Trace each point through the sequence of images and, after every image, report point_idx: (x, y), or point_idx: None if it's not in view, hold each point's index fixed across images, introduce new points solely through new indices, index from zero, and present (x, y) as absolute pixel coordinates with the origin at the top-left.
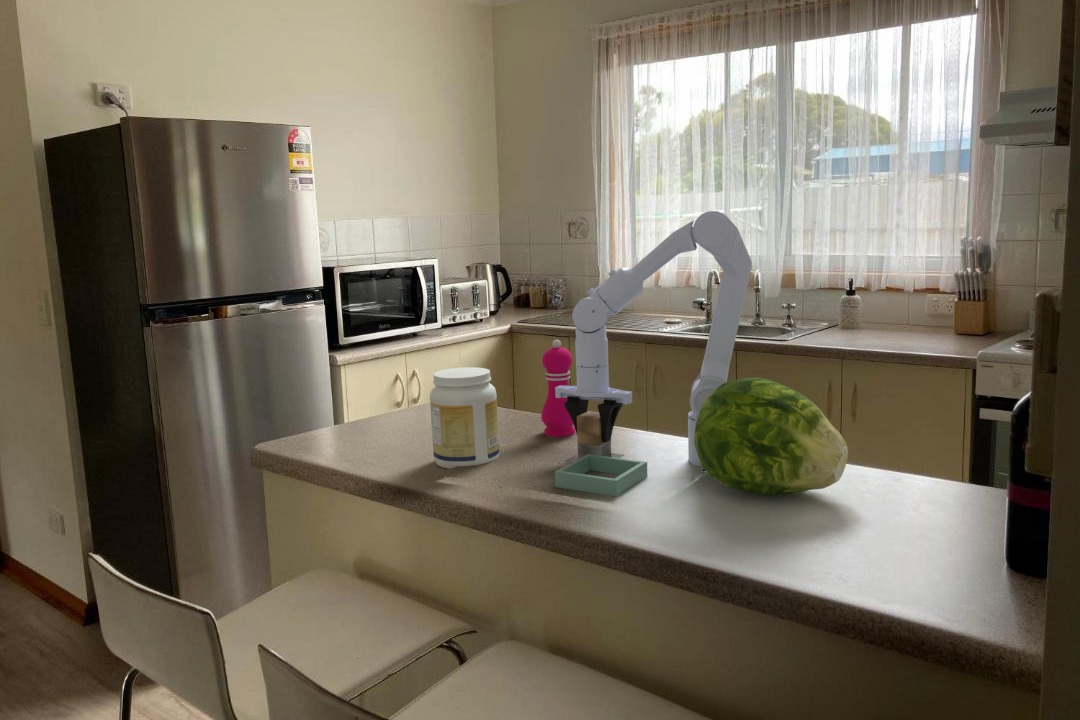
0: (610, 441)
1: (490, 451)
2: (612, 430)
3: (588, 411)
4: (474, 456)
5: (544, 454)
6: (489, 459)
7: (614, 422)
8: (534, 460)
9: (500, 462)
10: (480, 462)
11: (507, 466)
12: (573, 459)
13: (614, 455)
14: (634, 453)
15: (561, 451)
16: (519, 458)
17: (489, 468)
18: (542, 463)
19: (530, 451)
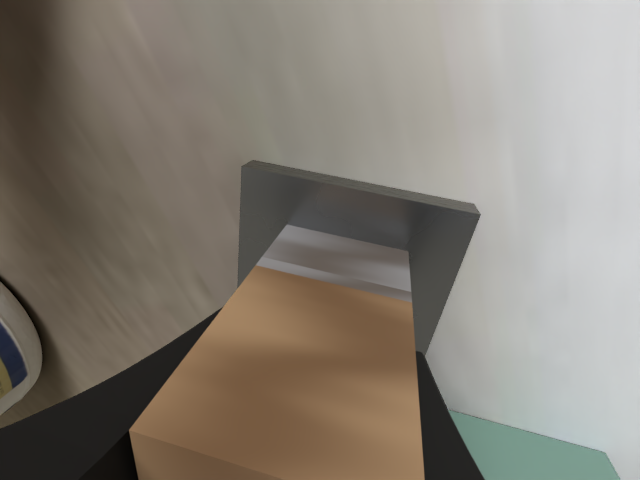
0: (409, 301)
1: (3, 386)
2: (443, 401)
3: (142, 450)
4: (4, 412)
5: (89, 191)
6: (30, 370)
7: (478, 476)
8: (111, 272)
9: (40, 307)
10: (30, 385)
11: (86, 339)
12: None
13: (422, 235)
14: (521, 40)
15: (118, 125)
16: (53, 259)
17: (60, 359)
18: (156, 300)
19: (15, 161)
